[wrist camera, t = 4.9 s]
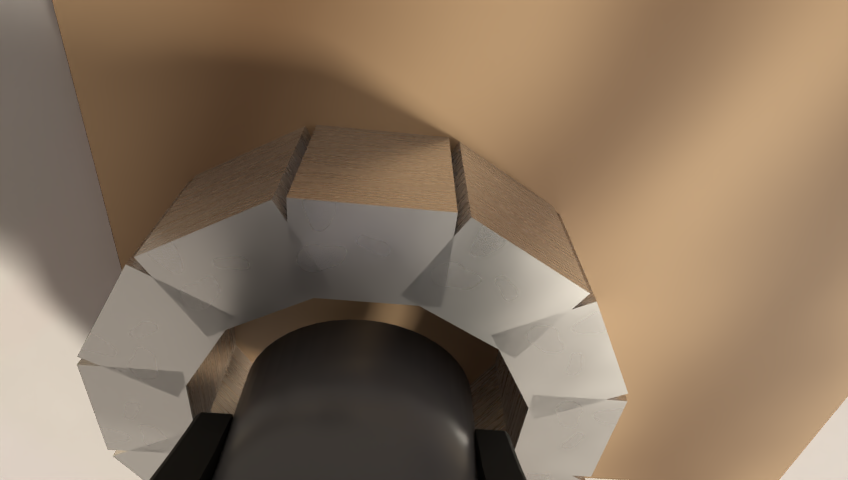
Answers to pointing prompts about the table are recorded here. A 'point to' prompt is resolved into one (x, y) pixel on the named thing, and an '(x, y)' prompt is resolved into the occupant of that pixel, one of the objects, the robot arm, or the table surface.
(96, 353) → the grey faceted ring
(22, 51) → the table surface
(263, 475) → the cap
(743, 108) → the board
